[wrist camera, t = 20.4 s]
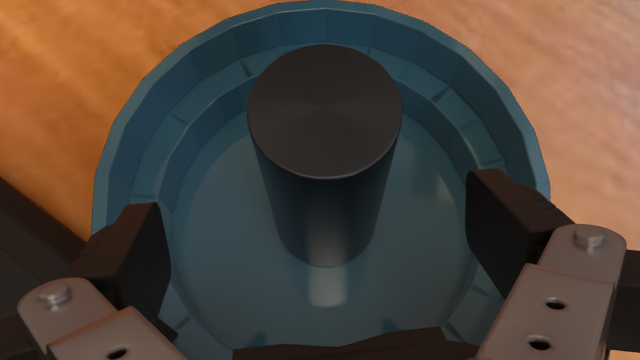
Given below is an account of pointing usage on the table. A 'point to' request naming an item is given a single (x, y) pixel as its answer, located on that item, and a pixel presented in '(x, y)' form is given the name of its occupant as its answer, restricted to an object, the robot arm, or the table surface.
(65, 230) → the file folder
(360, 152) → the black cylinder
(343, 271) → the bowl
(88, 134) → the table surface
